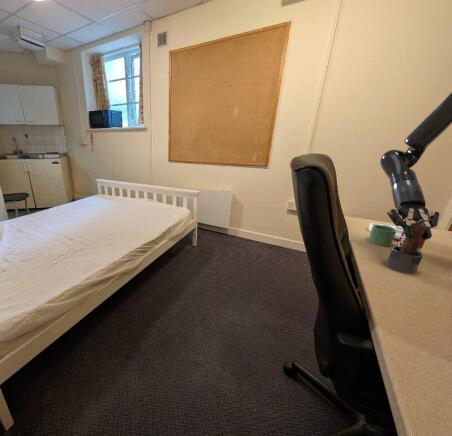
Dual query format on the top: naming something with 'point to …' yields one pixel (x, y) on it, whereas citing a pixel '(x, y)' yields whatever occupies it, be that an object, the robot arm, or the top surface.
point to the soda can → (404, 238)
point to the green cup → (382, 235)
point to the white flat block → (399, 229)
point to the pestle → (413, 239)
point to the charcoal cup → (403, 261)
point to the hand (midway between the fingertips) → (418, 237)
